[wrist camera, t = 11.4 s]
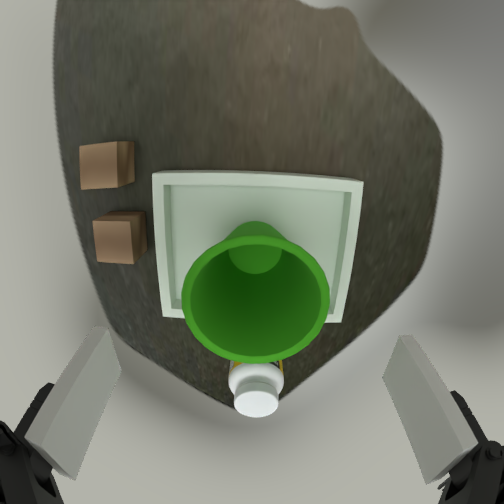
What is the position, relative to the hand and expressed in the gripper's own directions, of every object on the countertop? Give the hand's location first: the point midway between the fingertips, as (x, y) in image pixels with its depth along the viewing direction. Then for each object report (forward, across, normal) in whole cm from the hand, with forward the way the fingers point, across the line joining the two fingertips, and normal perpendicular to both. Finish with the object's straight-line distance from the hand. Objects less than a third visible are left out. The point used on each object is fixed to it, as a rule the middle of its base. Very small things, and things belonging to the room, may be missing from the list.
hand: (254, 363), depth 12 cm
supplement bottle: (+17, +1, -13) cm, 21 cm away
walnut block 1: (+18, -14, +7) cm, 23 cm away
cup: (+16, 0, -1) cm, 16 cm away
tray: (+17, 0, -1) cm, 17 cm away
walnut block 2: (+18, -13, 0) cm, 22 cm away
